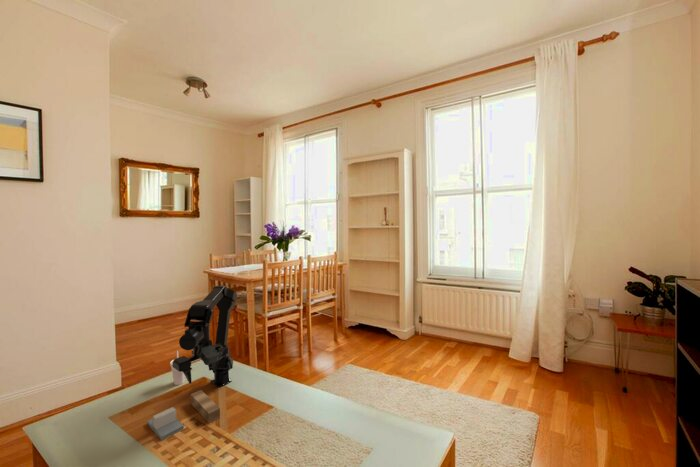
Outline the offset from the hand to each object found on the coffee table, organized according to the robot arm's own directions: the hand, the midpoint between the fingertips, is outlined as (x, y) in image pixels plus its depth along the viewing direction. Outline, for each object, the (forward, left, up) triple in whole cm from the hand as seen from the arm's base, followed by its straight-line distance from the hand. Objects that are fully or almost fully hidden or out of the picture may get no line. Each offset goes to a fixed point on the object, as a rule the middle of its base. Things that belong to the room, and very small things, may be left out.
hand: (202, 377), depth 119 cm
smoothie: (-24, +2, -12) cm, 27 cm away
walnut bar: (+2, 0, -12) cm, 12 cm away
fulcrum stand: (0, -13, -12) cm, 18 cm away
